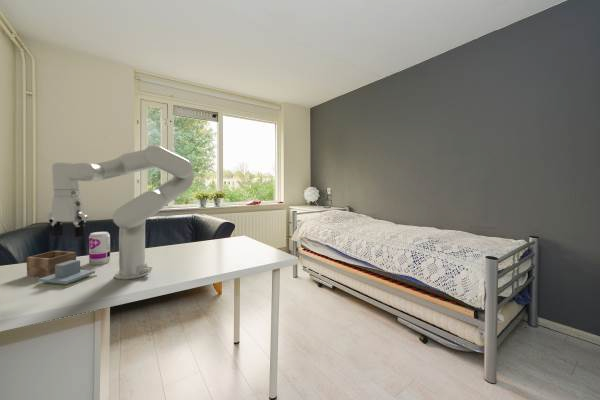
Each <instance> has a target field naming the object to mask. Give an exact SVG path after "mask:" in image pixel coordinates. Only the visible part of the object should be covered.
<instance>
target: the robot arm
mask: <svg viewBox="0 0 600 400" xmlns="http://www.w3.org/2000/svg"><path fill="white" fill-rule="evenodd" d="M51 165H52V166H51V171H52V172H51V174H52V175H51V177H52V190H53V191H52V192H53V197H52V203H51V212H50V213H49V214H47V215H46V216H47V218H48V222H49V223H50V225H51V226H52V236H53V237H58V236H62V235H64V232H63V225H62V224H63V223H72V224H73V225H74V226H75V227H74V237H75V238H79V237H83V236H85V233H84V227H85V225H86V224H87V221H88V218H89V216H88V215H87V214H85V210H84V205H83V199H82V197H81V196H80V191H79V190H80V189H79V186H80V184H79V181H80V182H99V181H105V180H108V179H113V178H116V177H120V176H125V175H130V174H133V173H137V172H142V171H146V170H150V169H155V168H157V169H159V170H161V171H164V172H166V173H168V174H171V175H173V177H172V178H170V179H168V180H166V181H165V182H164V183H162V184H161V185H159V186H157V187H155V188H153V189H150V190H147V191H144V192H143V193H141V194H140V195H138V196H136V197H134V198H133V199H131V200H129V201H128V202H126V203H124V204H123V205H121V206H120V207H118V208H116V210H115V211H114V213H113V215H112V221H113V223H114V224H115V225H116V226H117V227H118V228H119V231H118V236H119V237H118V251H119V252H118V254H119V255H118V259H119V260H118V264H119V265H118V266H119V268H118V269H119V270H118V271H116V272H115V273H114V277H115V278H116V279H117V280H132V279H138V278H142V277H145V276H146V275H148V274H150V273H152V270H153V267H152V266H148V263H147V262H146V220H148V219H149V218H152V217H153V216H154V215H156V214H157V213H159V212H161V211H162V210H163V209H164V208H165V207H166V206H167V205H169V204H170V203H172V202H173V201H174V200H176V199H178V198H179V197H181V196H183V194H184V193H186V192H187V191H189V189H190V188H191V185H192V184H193V182H194V178H195V177H194V175H195V174H194V166H193V164H192V162H190V160H188V159H186V158H184V157H182V156H180V155H178V154H176V153H174V152H171V151H169V150H168V149H165V148H164V147H162V146H160V145H157V144H155V145H154V144H153V145H152V144H151V145H149V146H147V147H146V148H145V149H141V150H136V151H131V152H126V153H123V154H121V155H119V156H118V157H116V158H114V159H111V160H106V161H102V162H96V163H92V162H77V163H74V162H54V163H52V164H51Z"/></svg>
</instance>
